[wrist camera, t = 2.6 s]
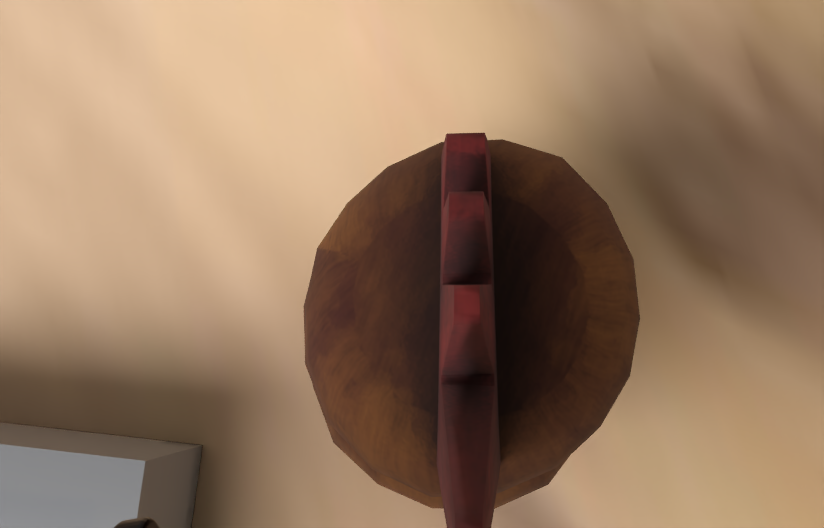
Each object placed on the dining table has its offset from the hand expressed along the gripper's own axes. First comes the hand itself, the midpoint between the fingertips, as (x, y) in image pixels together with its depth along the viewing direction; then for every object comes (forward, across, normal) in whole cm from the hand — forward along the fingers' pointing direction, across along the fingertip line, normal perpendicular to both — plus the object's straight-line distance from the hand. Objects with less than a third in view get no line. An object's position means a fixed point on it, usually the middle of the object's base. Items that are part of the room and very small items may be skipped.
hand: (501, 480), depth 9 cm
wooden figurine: (+9, 0, +6) cm, 11 cm away
